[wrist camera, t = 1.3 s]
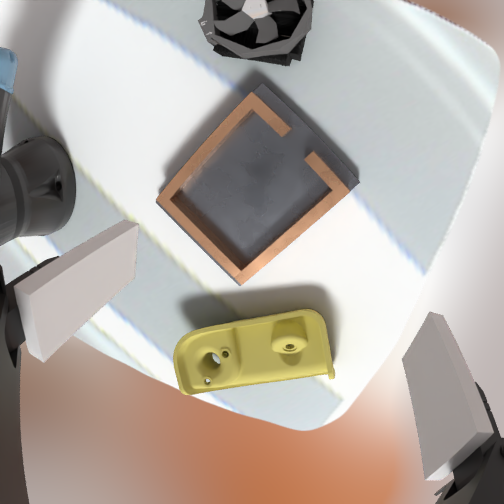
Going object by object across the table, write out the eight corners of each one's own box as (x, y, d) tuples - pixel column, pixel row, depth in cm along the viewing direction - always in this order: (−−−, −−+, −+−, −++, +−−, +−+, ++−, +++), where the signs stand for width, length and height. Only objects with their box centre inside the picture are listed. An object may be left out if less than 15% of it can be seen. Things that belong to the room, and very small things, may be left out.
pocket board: (160, 199, 37) (147, 205, 34) (264, 84, 30) (258, 80, 27) (242, 281, 39) (235, 293, 36) (358, 180, 32) (362, 185, 29)
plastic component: (321, 306, 35) (335, 388, 34) (323, 302, 42) (335, 371, 41) (166, 332, 40) (182, 403, 38) (190, 325, 47) (203, 388, 46)
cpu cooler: (320, -28, 20) (299, 63, 24) (321, -6, 25) (303, 74, 29) (213, -38, 21) (189, 48, 25) (229, -17, 26) (209, 59, 30)
